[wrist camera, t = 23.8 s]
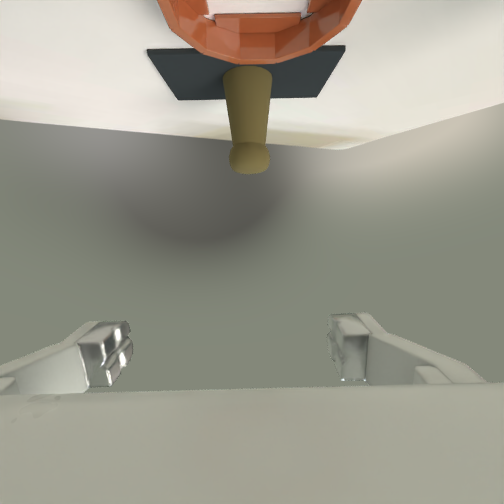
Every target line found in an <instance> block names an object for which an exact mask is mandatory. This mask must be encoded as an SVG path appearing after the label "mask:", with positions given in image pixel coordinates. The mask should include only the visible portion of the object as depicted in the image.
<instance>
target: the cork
mask: <svg viewBox="0 0 504 504" xmlns="http://www.w3.org/2000/svg"><path fill="white" fill-rule="evenodd" d="M223 85H224V91H225V97H226V104H227V110H228V116H229V123H230V129H231V135H232V142H233V147H232V149H231V151H230V155H229V162H230V166H231V168H232V169H233V170H234V171H235V172H238V173H242V174H256V173H260V172H263V171H265V170H266V169H267V167H268V166H269V162H270V155H269V151H268V149H267V148H266V146H265V142H266V133H267V124H268V114H269V105H270V96H271V86H272V75H271V73H270V72H269V71H268V70H266V69H264V68H261V67H257V66H240V67H236V68H233V69H230V70H229V71H227V72H226V73H225V74H224V76H223Z"/></svg>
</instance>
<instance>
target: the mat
mask: <svg viewBox="0 0 504 504" xmlns="http://www.w3.org/2000/svg"><path fill="white" fill-rule="evenodd" d="M344 52H345V46H321V47H319V48H318V49H317V50H315V51H314V50H313V52H311V53H307V54H304V55H301V56H298V57H295V58H292V59H289V60H286V61H283V62H280V63H277V62H276V64H241V65H240V64H239V63H238V64H235V63H231V62H228V61H224V60H221V59H218V58H214V57H211V56H207V55H204V54H203V53H200V52H199V51H197V50H196V49H161V50H147V53H148V56H149V58H150V59H151V61H152V62H153V64H154V65H155V67H156V68H157V70H158V71H159V73H160V74H161V76H162V77H163V79H164V80H165V82H166V83H167V84H168V86H169V87H170V89H171V90H172V92H173V93H174V95H175V96H176V98H177V99H178V100H218V99H226V97H225V91H224V85H223V76H224V74H225V73H226V72H227V71H229V70H230V69H233V68H236V67H240V66H257V67H261V68H264V69H266V70H268V71H269V72H270V73H271V75H272V86H271V96H270V98H312V97H317V96H318V95H319V93H320V91H321V90H322V88H323V86H324V85H325V83H326V81H327V80H328V78H329V77H330V75H331V73H332V72H333V70H334V68H335V67H336V65H337V64H338V62H339V60H340V59H341V57H342V55H343V54H344Z"/></svg>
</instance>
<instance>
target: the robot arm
mask: <svg viewBox="0 0 504 504" xmlns="http://www.w3.org/2000/svg"><path fill="white" fill-rule="evenodd" d="M328 327H329V328H330V332H329V333H328V335H327V344H328V351H329V355H330V357H331V359H332V360H333V361H335V368H336V370H337V373H338V375H339V377H340V379H341V380H365V382H366V383H368V384H369V385H370V386H337V387H297V388H259V389H221V390H183V391H142V392H106V393H104V392H103V393H83V392H84V391H86V390H87V389H88V388H92V387H109V386H112V385H113V383H114V382H115V381H116V379H117V378H118V377H119V375H120V374H121V371H120V369H121V368H123V367H125V366H126V365H127V364H128V363H129V361H130V360H131V357H132V354H133V343H132V340H131V339H130V338H129V337H128V335H129V333H130V327H129V323H128V322H126V321H95V322H87V323H85V324H84V325H83V326H81V327H80V328H79V329H78V330H76V331H75V332H74V333H72V334H71V335H70V336H69V337H67V338H66V339H65V340H63V341H62V342H61V343H59V344H54V345H51V346H49V347H46V348H44V349H41V350H38V351H36V352H33V353H31V354H28V355H26V356H23V357H21V358H18V359H16V360H13V361H11V362H8V363H5V364H3V365H0V504H504V382H492V383H488V382H486V381H485V380H484V379H483V378H482V377H481V376H479V375H478V374H477V373H476V372H475V371H473V370H472V369H471V368H470V367H468V366H467V365H466V364H464V363H462V362H459V361H457V360H454V359H452V358H450V357H447V356H445V355H442V354H440V353H438V352H435V351H433V350H430V349H428V348H426V347H423V346H421V345H418V344H416V343H413V342H411V341H408V340H406V339H404V338H401V337H399V336H396V335H394V334H388V333H387V332H386V331H385V330H384V329H383V328H382V327H381V326H380V325H379V324H378V323H377V322H376V321H375V320H374V318H373V317H372V316H371V315H370V314H369V313H348V314H331V315H329V316H328Z"/></svg>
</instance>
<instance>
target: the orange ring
mask: <svg viewBox="0 0 504 504" xmlns="http://www.w3.org/2000/svg"><path fill="white" fill-rule="evenodd" d="M157 1H158V3H159V6H160V8H161V10H162V12H163V15H164V17H165V19H166V21H167V24H168V26H169V28H170V29H171V31H173V32H174V33H175V34H177V35H178V36H179V37H181V38H182V39H183V40H184V41H186V42H187V43H188V44H190V45H191V46H192V47H194V48H195V49H196V50H197V51H199V52H200V53H203V54H204V55H207V56H211V57H214V58H218V59H221V60H224V61H228V62H231V63H235V64H238V63H239V64H240V65H241V64H276V62H277V63H280V62H283V61H286V60H289V59H292V58H295V57H298V56H301V55H304V54H307V53H311V52H313V50H314V51H315V50H317V49H318V48H319V47H321V46H322V45H323V44H325V43H326V42H327V41H329V40H330V39H331V38H333V37H334V36H335V35H337V34H338V33H339V32H341V31H342V30H343V29H345V28H346V27H347V25H349V23H350V22H351V20H352V18H353V16H354V14H355V12H356V11H357V9H358V7H359V5H360V3H361V1H362V0H310V1H309V4H308V8H307V13H313V14H312V15H311V16H310V17H307V18H305V19H302V20H300V19H301V13H267V14H216V15H215V22H214V21H212V20H209V19H206V18H205V17H204V16H203V15H209V9H208V4H207V0H157Z"/></svg>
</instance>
